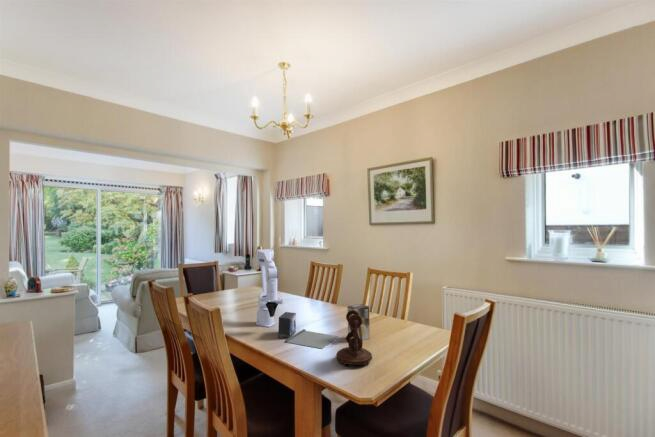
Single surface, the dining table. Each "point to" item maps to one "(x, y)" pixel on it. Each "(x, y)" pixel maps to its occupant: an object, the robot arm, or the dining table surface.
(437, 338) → the dining table surface
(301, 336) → the mat
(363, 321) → the coffee box
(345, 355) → the brown tall round-based figurine
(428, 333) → the dining table surface
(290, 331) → the small box
